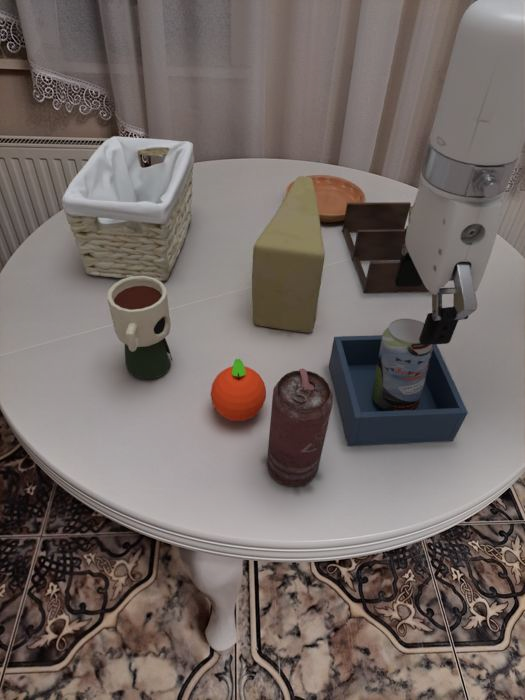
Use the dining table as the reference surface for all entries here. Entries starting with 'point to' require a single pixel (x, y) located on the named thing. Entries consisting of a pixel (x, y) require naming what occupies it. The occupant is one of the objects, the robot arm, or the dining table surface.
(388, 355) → the beverage can
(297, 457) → the can
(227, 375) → the clementine
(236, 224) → the dining table surface
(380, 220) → the drying rack
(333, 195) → the saucer
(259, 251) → the cheese
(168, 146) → the basket
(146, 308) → the character mug
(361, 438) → the open square box
